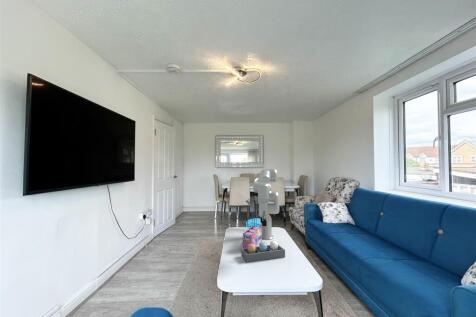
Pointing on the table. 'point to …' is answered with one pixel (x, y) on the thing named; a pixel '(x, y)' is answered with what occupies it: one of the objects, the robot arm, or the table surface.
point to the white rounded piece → (273, 245)
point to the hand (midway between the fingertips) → (263, 224)
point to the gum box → (252, 237)
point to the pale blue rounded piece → (263, 247)
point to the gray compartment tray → (262, 254)
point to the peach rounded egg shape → (251, 248)
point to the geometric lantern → (253, 210)
